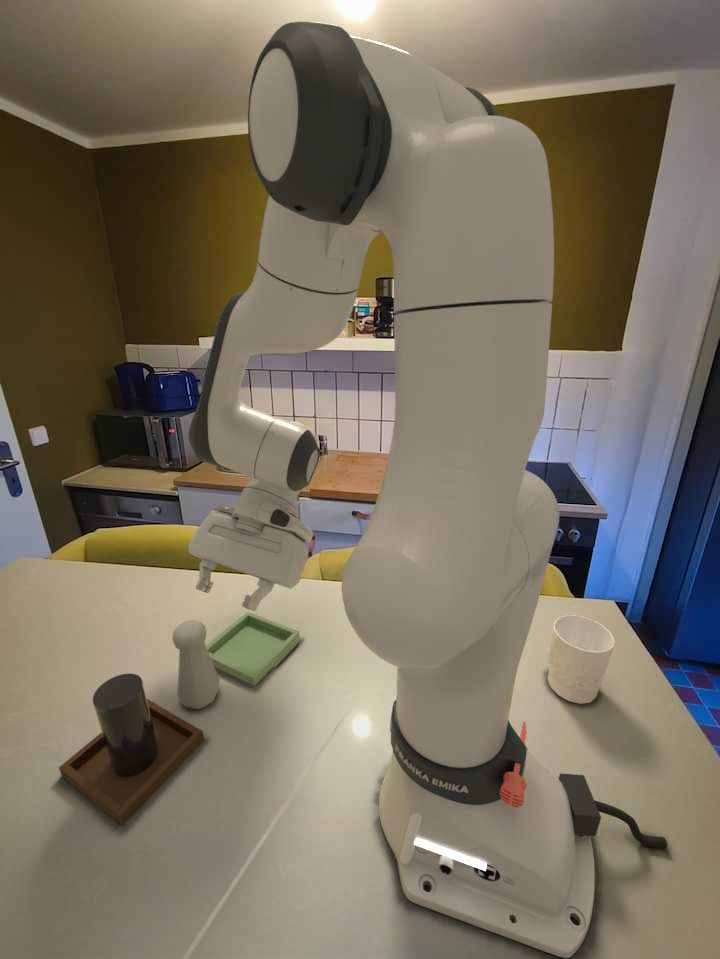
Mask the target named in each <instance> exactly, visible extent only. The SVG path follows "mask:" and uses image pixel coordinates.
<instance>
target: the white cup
mask: <svg viewBox="0 0 720 959" xmlns="http://www.w3.org/2000/svg"><path fill="white" fill-rule="evenodd" d="M615 643H616V642H615V637H614V636H613V633H612V632H611V631H610V630H609V629H608V628H607V627H605V626H604V625H603V624H601V623H600V622H599V621H596V620H594V619H592V618H588V617H586V616H582V615H578V614H566V615H561V616H559V617H557V618H556V619H555V620H554V621H553V625H552V633H551V641H550V648H549V658H548V665H549V666H548V674H547V682H548V684H549V686H550V688H551V689H552V691H554V693H556V695H557V696H559V697H560V698H562V699H564V700H566V701H568V702H570V703H574V704H580V705H582V704H583V705H584V704H590V703H592V702H593V701H594V700H595V699H597V696H598V693H599V689H600V686H601V685H602V683H603V681H604V677H605V674H606V671H607V670H608V666H609V662H610V660H611V656H612V652H613V649H614V647H615Z"/></svg>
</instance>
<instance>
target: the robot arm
mask: <svg viewBox="0 0 720 959" xmlns="http://www.w3.org/2000/svg"><path fill="white" fill-rule="evenodd" d="M247 134H248V144H249V145H248V146H249V151H250V156H251V160H252V164H253V167H254V169H255V172H256V175H257V177H258V178H259V180H260V182H261V183H262V185H263V187H264V189H265V191H266V192H267V194H268V197H267V200H266V205H265V209H264V215H263V220H262V225H261V230H260V231H261V232H260V237H259V246H258V247H259V248H258V254H257V262H256V269H255V272H254V276H253V278H252V281H251V283H250V285H249V287H248V288H247V290H246V291H242V292H238V293H235V294H234V295H233V296H231V298H230V299H229V300H228V301H227V303H226V305H225V306H224V308H223V311H222V313H221V315H220V318H219V321H218V323H217V327H216V329H215V333H214V337H213V341H212V345H211V349H210V353H209V357H208V362H207V366H206V370H205V374H204V379H203V384H202V388H201V393H200V397H199V400H198V404H197V406H196V409H195V411H194V414H193V416H192V419H191V423H190V426H189V429H188V435H187V436H188V441H189V444H190V447H191V449H192V451H193V453H194V455H195V456H196V457H197V459H198V460H199V461H200V462H203V463H206V464H209V465H213V466H217V467H219V468H225V469H229V470H231V471H234V472H237V473H239V474H242V475H244V476H247V477H250V480H248V482H247V483H246V484H245V485H244V487H243V489H242V492H241V494H240V495H239V498H238V500H237V502H236V504H235V505H234V508H231V507H227V506H225V505H219V506H218V507H215V508H213V509H211V510H210V511H209V512H208V515H207V516H205V517H204V519H203V521H202V522H201V524H200V525H199V526H198V528H197V530H196V531H195V533H194V534H193V536H192V538H191V539H190V541H189V543H188V546H187V547H188V549H187V550H188V554H190V555H192V556H194V557H196V558H199V559H201V561H200V563H199V565H198V568H199V569H198V570H199V571H198V572H199V579H198V581H197V583H196V585H195V589H196V590H197V591H199V592H202V593H206V594H209V593H210V592H211V591H212V590H211V588H212V587H214V586H213V585H214V582H213V581H211V576H212V571H215V570H216V567H217V565H218V566H221V567H225V568H227V569H230V570H234V571H235V572H239V573H243V574H245V575H248V576H251V577H254V578H257V579H258V581H257V584H256V585H257V586H259V587H258V588H257V589H256V590H255V591H254V592H252V594H251V595H249V594H246V595H245V597H244V601H242V604H241V607H242V608H244V609H246V610H249V611H252V612H256V611H257V609H258V607H259V605H260V602H261V601H262V600H263V599H264V598H266V597H267V596H268V595H269V594H270V593H271V592H272V591H273V588H274V586H275V585H277V586H281V587H284V588H287V589H290V590H291V589H293V588H295V587H296V586H297V585H298V584H299V583H300V581H301V578H302V576H303V573H304V570H305V568H306V565H307V561H308V557H309V546H308V545H307V544H310V543H311V541H312V540H313V537H314V531H313V530H312V529H311V528H310V527H309V526H308V525H306V524H305V523H304V522H303V521H301V520H300V519H299V518H298V517H297V516H296V515H295V514H294V512H295V509H296V506H297V499H298V496H299V494H300V493H301V491H302V490H303V489H305V488H306V487H308V486H309V485H310V483H311V480H312V478H313V476H314V473H315V471H316V469H317V466H318V464H319V462H320V457H321V450H320V448H319V444H318V443H319V441H318V437H317V435H316V433H315V432H314V431H313V430H312V429H311V428H310V427H308V426H307V425H305V424H304V423H302V422H299V421H294V420H287V419H284V418H282V417H278V416H274V415H272V414H270V413H266V412H264V411H262V410H259V409H256V408H253V407H251V406H248V405H247V404H245V403H244V402H243V401H242V400H241V399H240V398H239V393H240V390H241V386H242V382H243V379H244V376H245V372H246V369H247V367H248V362H249V360H250V357H252V356H257V355H265V354H267V355H268V354H286V355H287V354H288V355H290V354H291V355H292V354H302V353H307V352H312V351H315V350H318V349H321V348H323V347H325V346H327V345H329V344H331V343H332V342H333V341H335V340H336V339H337V338H338V337H339V336H340V335H341V334H342V333H343V332H344V331H345V329H346V326H347V325H348V322H349V320H350V317H351V314H352V312H353V308H354V306H355V304H356V299H357V297H358V296H357V295H358V292H359V288H360V284H361V280H362V276H363V272H364V267H365V262H366V257H367V253H368V250H369V247H370V245H371V243H372V242H373V240H374V239H375V238H376V237H377V236H378V235H379V234H384V236H385V238H386V239H387V241H388V243H389V246H390V249H391V250H390V251H391V256H392V264H393V314H394V315H393V329H394V330H393V331H394V332H393V334H394V338H393V339H394V403H395V404H394V418H393V428H392V436H391V441H390V446H389V451H388V456H387V460H386V464H385V468H384V471H383V472H384V473H383V477H382V480H381V485H380V488H379V492H378V495H377V497H376V502H375V505H374V508H373V510H372V513H371V516H370V518H369V521H368V523H367V526H366V527H365V529H364V532H363V534H362V536H361V538H360V539H359V541H358V542H357V545H355V547H354V549H353V551H352V552H351V554H350V555H349V557H348V558H347V560H346V562H345V563H344V567H343V570H342V574H341V598H342V603H343V608H344V611H345V615H346V617H347V619H348V622H349V624H350V626H351V628H352V629H353V631H354V633H355V634H356V636H357V637H358V638H359V640H360V641H361V642H362V643H363V644H364V646H366V648H367V649H368V650H369V651H370V652H372V653H373V654H374V655H375V656H377V657H378V658H379V659H381V660H383V661H384V662H386V663H388V664H390V665H392V666H394V667H397V669H396V694H395V695H396V697H395V698H396V699H395V700H394V701H393V703H392V709H391V715H390V725H389V732H390V745H391V748H392V753H391V758H390V763H389V766H388V770H387V771H386V774H385V776H384V778H383V780H382V782H381V786H380V789H379V795H378V815H379V822H380V825H381V829H382V831H383V834H384V837H385V839H386V841H387V843H388V845H389V846H390V849H391V851H392V852H393V855H394V857H395V859H396V862H397V868H398V875H399V879H400V885H401V889H402V892H403V894H404V896H405V897H406V899H407V900H409V901H410V902H411V903H413V904H416V905H418V906H421V907H424V908H426V909H429V910H431V911H434V912H437V913H440V914H442V915H445V916H448V917H451V918H454V919H456V920H459V921H461V922H464V923H466V924H470V925H472V926H475V927H476V928H477V927H478V928H481V929H482V930H486V931H488V932H491V933H494V934H497V935H498V936H502V937H504V938H507V939H510V940H513V941H515V942H518V943H520V944H524V945H526V946H529V947H532V948H534V949H537V950H539V951H541V952H545V953H548V954H550V955H552V956H555V957H558V958H563V959H569V958H571V957H572V956H573V955H574V954H576V952H577V951H578V950H579V948H580V947H581V946H582V944H583V942H584V940H586V936H587V934H588V931H589V928H590V924H591V920H592V916H593V908H594V899H595V883H596V872H595V856H594V848H593V843H592V839H591V837H597V833H598V830H599V826H600V823H601V819H602V816H601V814H600V813H603V814H605V815H608V816H610V817H614V818H616V819H619V820H620V821H622V822H624V823H625V824H627V826H628V828H629V830H630V832H631V834H632V836H633V838H634V839H635V840H636V841H638V842H639V843H640V844H642V845H644V846H646V847H650V848H662V849H667V848H668V842H667V839H666V837H664V836H657V835H655V836H654V835H647V834H644V833H642V832H641V830H640V828H639V824H638V823H637V822H636V820H635V819H634V818H633V817H632V816H631V815H630V814H628V813H627V812H625V811H624V810H622V809H620V808H618V807H615V806H613V805H610V804H607V803H604V802H601V801H598V800H595V798H594V797H593V794H592V791H591V789H590V787H589V784H588V782H587V780H586V777H585V775H584V774H572V773H561V772H560V773H559V775H558V776H557V775H556V774H554V773H553V772H552V771H551V770H549V769H548V768H547V767H546V766H545V765H544V764H543V763H542V762H541V761H540V760H538V759H537V758H536V757H535V756H534V755H532V754H531V753H530V752H529V748H528V746H526V738H527V725H526V724H527V723H526V721H523V722H522V726H521V732H520V736H519V734H518V733H517V732H516V730H515V728H514V727H513V726H512V724H511V722H510V720H509V719H510V713H511V707H512V700H513V694H514V687H515V682H516V677H517V672H518V669H519V664H520V661H521V658H522V655H523V652H524V649H525V645H526V642H527V639H528V636H529V633H530V630H531V627H532V623H533V619H534V616H535V613H536V609H537V606H538V602H539V599H540V595H541V592H542V588H543V585H544V580H545V577H546V573H547V569H548V565H549V560H550V556H551V554H552V550H553V546H554V543H555V539H556V538H557V534H558V529H559V525H560V508H559V503H558V501H557V499H556V496H555V494H554V492H553V490H552V489H551V488H550V487H549V485H548V484H547V483H546V482H545V481H544V480H543V479H542V478H540V477H539V476H538V475H536V474H534V473H533V472H532V471H530V470H526V468H527V465H528V462H529V459H530V455H531V451H532V448H533V446H534V443H535V440H536V437H537V435H538V433H539V431H540V429H541V426H542V423H543V420H544V415H545V408H546V406H545V405H546V395H547V394H546V393H547V392H546V391H547V380H548V366H549V354H550V353H549V352H550V341H551V329H552V328H551V326H552V315H553V312H552V311H553V303H552V302H553V300H554V299H553V298H554V280H555V278H554V277H555V230H554V229H555V228H554V212H553V200H552V189H551V188H552V187H551V181H550V173H549V165H548V164H549V163H548V158H547V154H546V151H545V149H544V146H543V144H542V142H541V140H540V138H539V137H538V135H537V134H536V133H535V132H534V131H533V130H532V129H531V128H530V127H529V126H527V125H525V124H524V123H522V122H520V121H519V120H516V119H512V118H509V117H505V116H503V115H502V114H501V112H500V111H499V110H498V109H497V107H496V106H495V105H494V104H493V103H492V102H491V101H490V99H488V98H487V96H485V95H484V94H483V93H481V92H480V91H479V90H477V89H475V88H473V87H468V86H463V85H462V84H460V83H458V82H457V81H456V80H454V79H452V78H451V77H450V76H448V75H446V74H445V73H443V72H441V71H439V69H436V68H434V67H432V66H431V65H428V64H427V63H426V62H425V61H423V59H422V58H420V57H418V56H416V55H414V54H412V53H410V52H407V51H404V50H402V49H399V48H398V47H394V46H391V45H388V44H385V43H382V42H378V41H374V40H370V39H366V38H363V37H358V36H353V35H350V34H349V33H348V31H347V30H345V29H344V28H343V27H341V26H339V25H336V24H331V23H325V22H318V21H293V22H292V21H291V22H287V23H284V24H283V25H281V26H280V27H278V29H277V30H276V31H274V33H273V35H272V36H271V37H270V39H268V42H267V43H266V44H265V46H264V48H262V51H261V52H260V54H259V56H258V58H257V61H256V63H255V67H254V69H253V74H252V77H251V83H250V89H249V95H248V107H247ZM425 886H428V887H429V888H430V891H426V890H425V889H424V887H425ZM571 918H572V919H575V921H576V922H577V923H578V925H577V924H575V923H573V922H572V919H571Z"/></svg>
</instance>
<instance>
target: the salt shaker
mask: <svg viewBox="0 0 720 959" xmlns="http://www.w3.org/2000/svg"><path fill="white" fill-rule="evenodd" d="M206 639H207V628H206V626H205V624H204V623H203V622H201V621H199V620H197V619H195V620H193V619H190V620H187V621H184V622H181V623H180V624H178V626H177V627H176V628H175V629H174V630H173V633H172V642H173V645H174V647H175V648H176V649H177V650H179V652H178V674H177V688H176V689H177V691H176V695H177V697H178V700H179V701H180V703H181V704H182V705H183V706H184V707H185V708H189V709H192V710H201V709H203V708H205V707H207V706H209V705H210V704H212V703H214V700H215V698H216V696H217V694H218V692H219V690H220V677H219V675H218V672H217V670H216V667H214V665H213V662H212V660H211V657H210V655H209V653H208V650H207V648H206V646H207V645H206V643H205V641H206Z"/></svg>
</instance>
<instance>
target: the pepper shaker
mask: <svg viewBox="0 0 720 959" xmlns="http://www.w3.org/2000/svg"><path fill="white" fill-rule="evenodd" d="M147 699H148V698H147V694H146V689H145V685H144V681H143V679H142V678H141V676H139V675H138V674H135V673H122V674H118V675H116V676H113V677H111V678H110V679H108V680H106V681H104V682H103V683H102V684H100V685H99V687H98V688H97V689H96V690H95V691H94V694H93V696H92V704H93V707H94V711H95V715H96V718H97V721H98V724H99V727H100V731H101V732H102V735H103V738H104V742H105V745H106V748H107V752H108V755H109V759H110V762H111V765H112V769H113V771H114V773H115V774H116V775H118V776H120V777H131V776H135V775H137V774H139V773H141V772H143V771H144V770H145V769H147V768H148V767H149V766H150V765H151V764H152V763H153V761H154V760H155V758H156V756H157V753H158V744H157V740H156V736H155V732H154V728H153V723H152V719H151V715H150V711H149V707H148V702H147ZM101 732H100V733H101Z"/></svg>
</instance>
